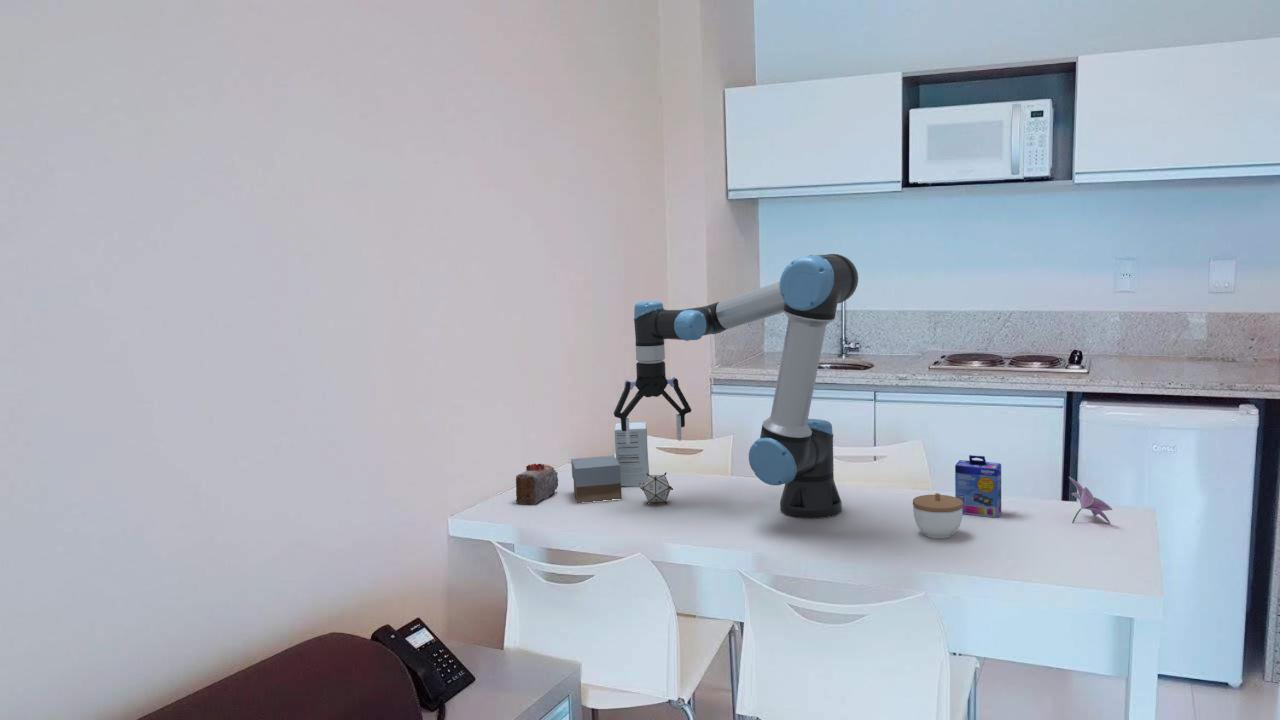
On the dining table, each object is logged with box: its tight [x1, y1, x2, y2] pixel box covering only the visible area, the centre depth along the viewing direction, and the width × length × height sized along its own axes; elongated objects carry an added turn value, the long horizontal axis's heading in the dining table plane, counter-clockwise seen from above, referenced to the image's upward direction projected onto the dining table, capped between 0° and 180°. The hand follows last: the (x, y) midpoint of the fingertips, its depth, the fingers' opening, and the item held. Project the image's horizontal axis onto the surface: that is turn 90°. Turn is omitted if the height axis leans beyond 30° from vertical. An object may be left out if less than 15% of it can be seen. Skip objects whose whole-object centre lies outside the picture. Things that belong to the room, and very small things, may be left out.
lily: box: [1068, 476, 1113, 524], centre depth 208 cm, size 12×12×10 cm
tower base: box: [573, 481, 623, 504], centre depth 250 cm, size 12×12×5 cm
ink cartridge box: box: [954, 454, 1003, 519], centre depth 218 cm, size 10×6×14 cm, turn 59°
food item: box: [515, 463, 559, 506], centre depth 251 cm, size 14×8×10 cm, turn 161°
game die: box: [639, 472, 674, 505], centre depth 240 cm, size 9×8×10 cm
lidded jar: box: [912, 492, 963, 539], centre depth 204 cm, size 11×11×9 cm
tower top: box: [570, 455, 621, 487], centre depth 250 cm, size 12×12×5 cm
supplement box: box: [614, 421, 650, 487], centre depth 262 cm, size 10×9×17 cm
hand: (653, 441), depth 239 cm, fingers open, 13 cm apart
